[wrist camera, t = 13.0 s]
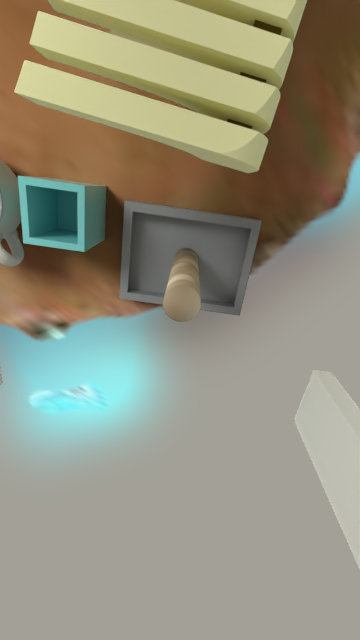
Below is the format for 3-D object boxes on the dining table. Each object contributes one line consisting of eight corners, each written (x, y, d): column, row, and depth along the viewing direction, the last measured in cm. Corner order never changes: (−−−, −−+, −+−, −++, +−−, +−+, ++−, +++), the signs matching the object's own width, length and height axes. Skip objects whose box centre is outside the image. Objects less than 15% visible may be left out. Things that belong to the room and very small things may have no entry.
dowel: (173, 269, 38) (160, 319, 24) (175, 246, 37) (165, 283, 23) (195, 272, 39) (197, 324, 24) (199, 249, 37) (203, 289, 23)
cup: (55, 232, 38) (23, 243, 31) (53, 178, 36) (17, 175, 28) (104, 239, 38) (84, 251, 31) (106, 185, 36) (84, 185, 28)
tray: (123, 292, 41) (119, 298, 39) (129, 199, 36) (124, 200, 34) (236, 308, 41) (239, 315, 39) (257, 218, 37) (262, 221, 34)
